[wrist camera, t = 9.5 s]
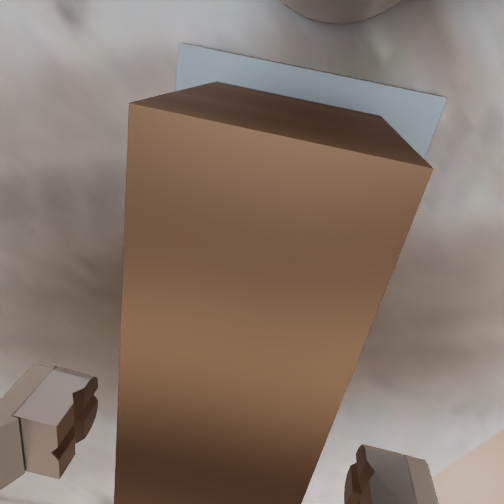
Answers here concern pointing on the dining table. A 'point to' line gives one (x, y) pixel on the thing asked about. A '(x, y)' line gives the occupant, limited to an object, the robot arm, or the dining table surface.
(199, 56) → the cradle stand
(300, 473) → the walnut bar
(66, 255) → the dining table surface
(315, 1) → the supplement bottle
